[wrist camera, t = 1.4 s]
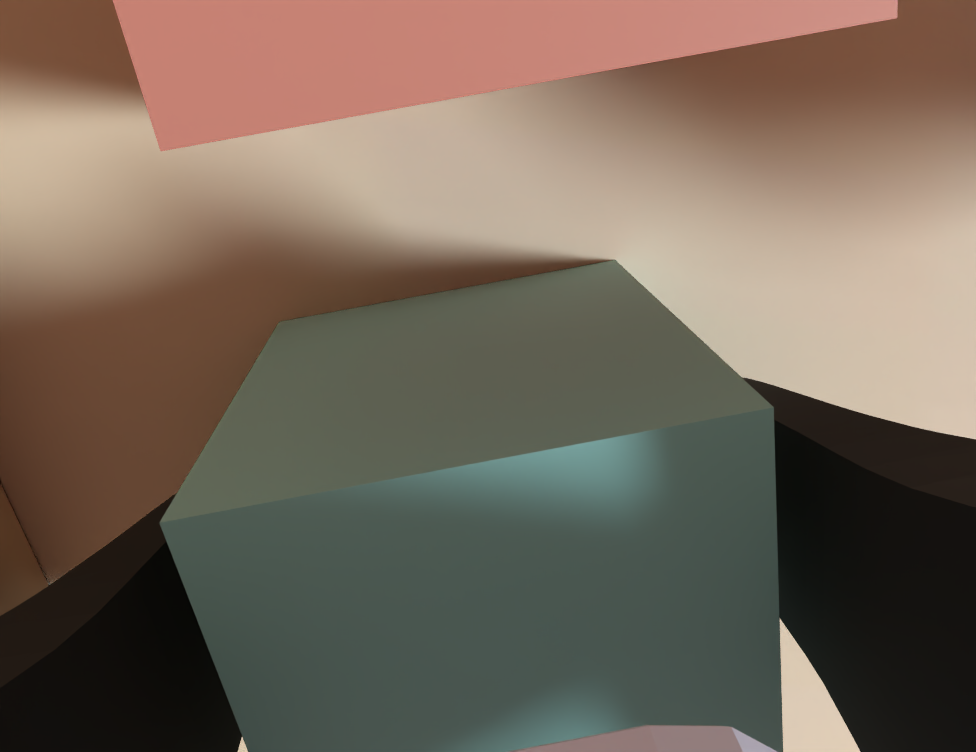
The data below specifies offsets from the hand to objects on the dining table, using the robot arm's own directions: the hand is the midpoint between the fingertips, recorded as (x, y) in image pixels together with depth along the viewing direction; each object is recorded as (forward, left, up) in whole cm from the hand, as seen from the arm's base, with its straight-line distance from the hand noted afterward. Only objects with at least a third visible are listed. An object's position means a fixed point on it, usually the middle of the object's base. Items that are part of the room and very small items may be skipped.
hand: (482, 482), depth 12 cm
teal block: (0, 0, -2) cm, 2 cm away
